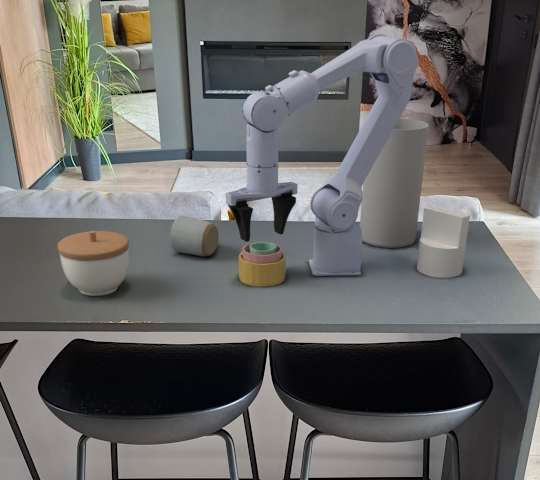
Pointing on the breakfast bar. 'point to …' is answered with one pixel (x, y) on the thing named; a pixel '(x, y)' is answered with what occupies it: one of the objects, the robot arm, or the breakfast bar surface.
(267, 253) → the mint cup
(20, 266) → the breakfast bar surface
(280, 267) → the stack bottom
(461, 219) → the base with upright slab
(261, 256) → the stack top
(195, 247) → the ceramic mug
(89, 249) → the lidded bowl
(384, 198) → the cylinder vase
